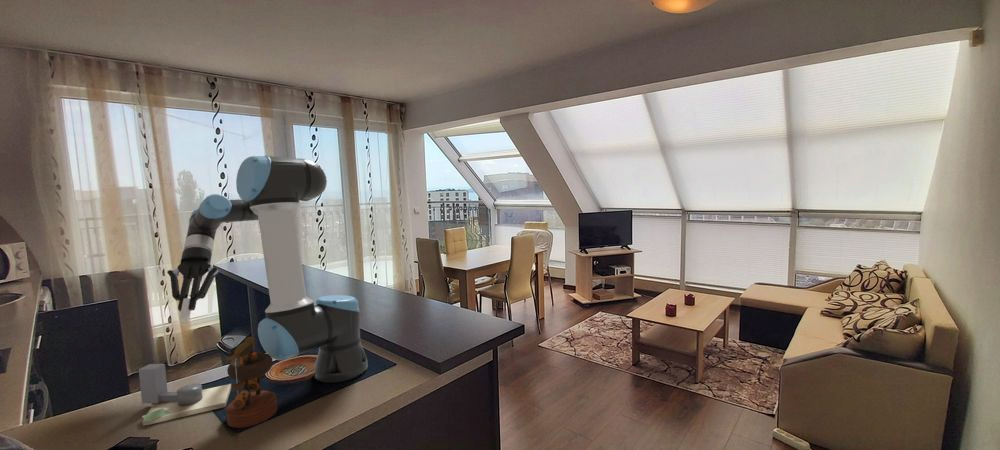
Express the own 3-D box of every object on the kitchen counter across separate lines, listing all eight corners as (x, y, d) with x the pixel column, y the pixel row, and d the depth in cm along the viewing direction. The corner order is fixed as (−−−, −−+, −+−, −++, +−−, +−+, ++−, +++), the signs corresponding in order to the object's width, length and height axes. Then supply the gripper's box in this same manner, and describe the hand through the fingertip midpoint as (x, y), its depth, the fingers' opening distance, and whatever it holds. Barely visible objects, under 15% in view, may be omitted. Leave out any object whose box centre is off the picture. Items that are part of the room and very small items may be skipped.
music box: (270, 426, 89) (255, 345, 87) (216, 439, 86) (200, 355, 84) (288, 393, 104) (276, 323, 101) (242, 403, 101) (229, 330, 99)
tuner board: (231, 387, 107) (230, 383, 107) (224, 409, 97) (224, 404, 97) (153, 404, 99) (152, 399, 99) (136, 429, 89) (135, 424, 89)
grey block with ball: (207, 394, 101) (204, 361, 100) (192, 405, 96) (189, 370, 95) (156, 395, 101) (152, 362, 100) (138, 406, 96) (134, 371, 95)
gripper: (224, 256, 130) (214, 322, 117) (177, 258, 125) (161, 328, 113) (218, 244, 124) (207, 313, 112) (168, 246, 119) (150, 318, 107)
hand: (184, 320), depth 112 cm, fingers closed
